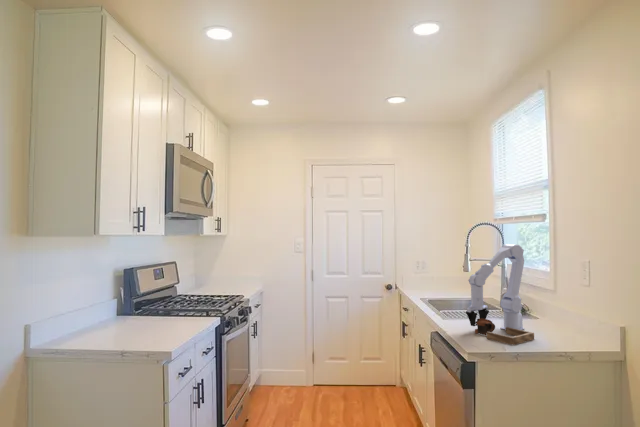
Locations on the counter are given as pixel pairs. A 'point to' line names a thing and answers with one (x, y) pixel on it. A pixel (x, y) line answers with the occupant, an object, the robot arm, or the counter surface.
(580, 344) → the counter surface
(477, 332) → the pottery mug
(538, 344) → the counter surface
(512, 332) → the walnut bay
